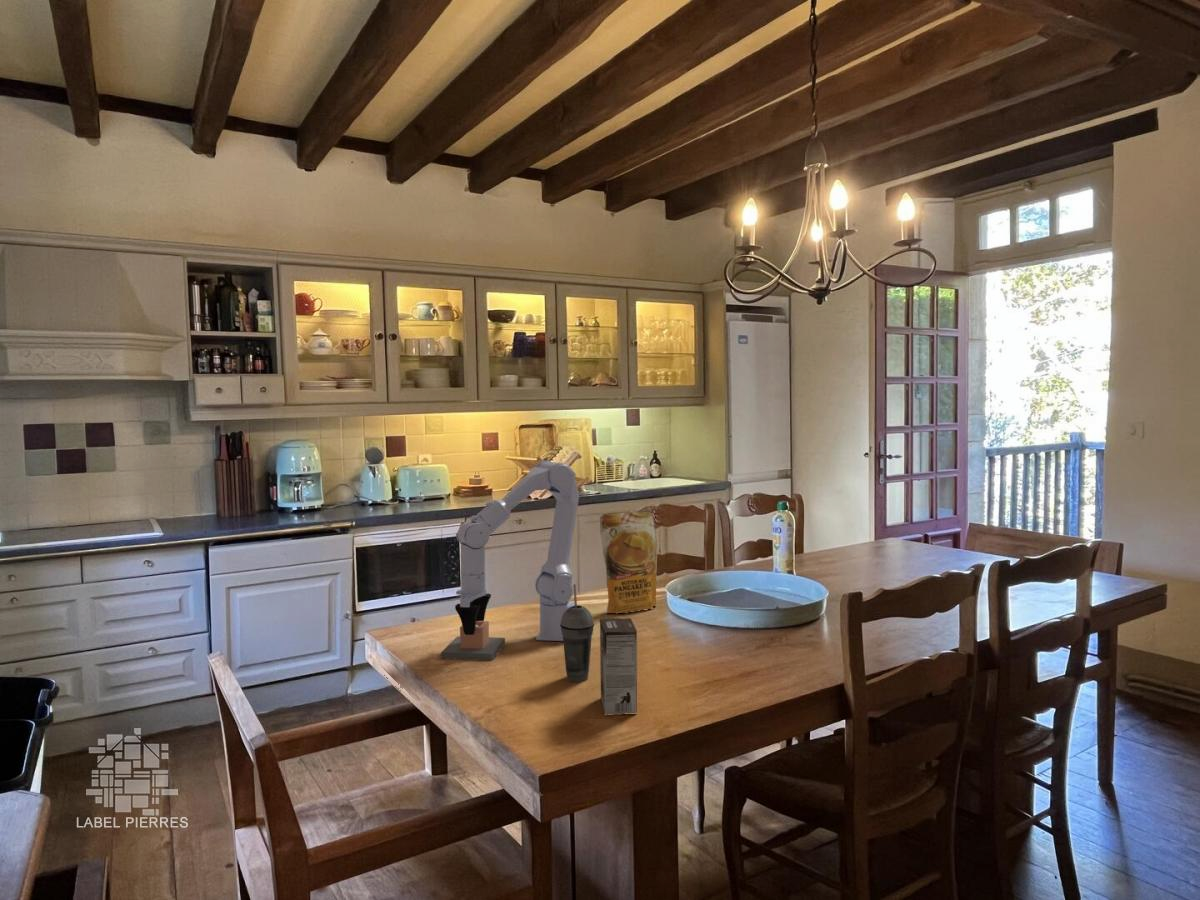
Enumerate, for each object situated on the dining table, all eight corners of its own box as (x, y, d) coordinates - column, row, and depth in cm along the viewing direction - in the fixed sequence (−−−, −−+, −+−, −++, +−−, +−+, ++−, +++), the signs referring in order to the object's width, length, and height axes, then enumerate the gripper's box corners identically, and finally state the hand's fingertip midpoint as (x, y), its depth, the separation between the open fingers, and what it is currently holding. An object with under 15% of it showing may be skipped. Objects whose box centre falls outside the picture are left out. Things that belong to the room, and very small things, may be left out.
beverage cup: (569, 686, 157) (568, 591, 155) (554, 675, 163) (554, 583, 162) (600, 680, 160) (600, 587, 159) (585, 669, 166) (584, 580, 165)
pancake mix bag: (594, 611, 214) (594, 512, 212) (652, 602, 222) (652, 508, 221) (605, 617, 208) (605, 515, 206) (664, 608, 216) (665, 511, 215)
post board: (505, 643, 185) (504, 619, 184) (492, 660, 173) (492, 634, 172) (457, 642, 186) (456, 618, 186) (441, 658, 174) (441, 632, 174)
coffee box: (599, 697, 151) (599, 617, 150) (631, 696, 151) (631, 616, 150) (603, 716, 142) (603, 631, 141) (637, 715, 142) (637, 630, 141)
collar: (488, 641, 182) (488, 621, 181) (482, 648, 176) (482, 627, 176) (467, 640, 182) (466, 620, 182) (460, 648, 177) (460, 626, 177)
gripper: (465, 565, 186) (466, 620, 187) (446, 579, 172) (448, 638, 172) (493, 566, 185) (494, 620, 186) (477, 580, 171) (478, 639, 172)
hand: (474, 629), depth 179 cm, fingers open, 7 cm apart
